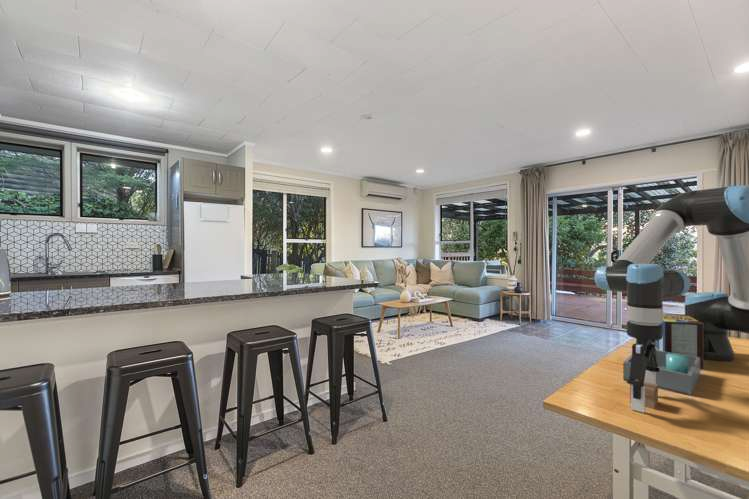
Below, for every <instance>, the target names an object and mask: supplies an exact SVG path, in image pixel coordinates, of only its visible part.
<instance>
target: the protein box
mask: <svg viewBox="0 0 749 499" xmlns="http://www.w3.org/2000/svg"><path fill="white" fill-rule="evenodd" d="M660 324H661V325H662V327H663V329H662V339H660V340H655V348H656V350H659V351H665V352H670V353H676V354H682V355H688V356H694V357H699V358H700V370H704V359H703V323H702V322H700V321H698V320H696V319H694V318H692V317H690V316H688V315H685V313H681V314H679V313H666V312H665V313H664V312H663V322H662V323H660Z"/></svg>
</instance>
